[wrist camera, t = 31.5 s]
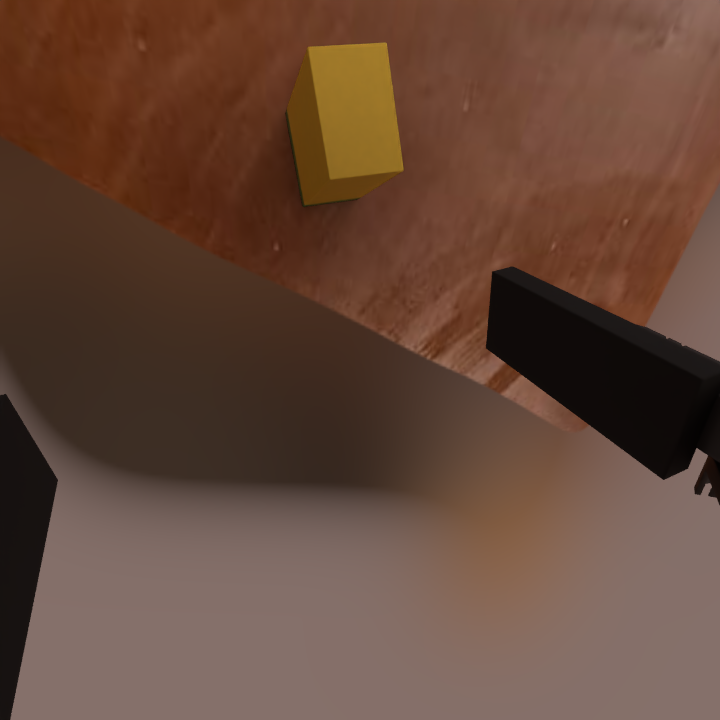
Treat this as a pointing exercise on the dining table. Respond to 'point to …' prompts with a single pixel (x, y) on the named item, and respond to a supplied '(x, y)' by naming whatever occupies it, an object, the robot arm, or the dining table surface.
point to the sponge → (343, 123)
